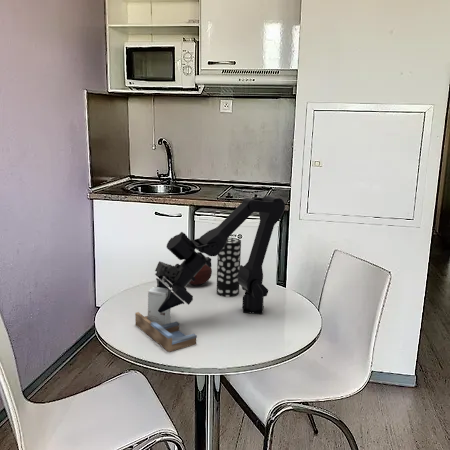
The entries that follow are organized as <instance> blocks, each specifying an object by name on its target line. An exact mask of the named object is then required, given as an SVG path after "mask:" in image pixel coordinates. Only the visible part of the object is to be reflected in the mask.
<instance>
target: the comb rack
mask: <svg viewBox="0 0 450 450" xmlns="http://www.w3.org/2000/svg"><path fill="white" fill-rule="evenodd" d="M135 326H136V327H138V328H139V329H140V330H141V331H142V332H144V333H145V334H147V336H149V337H150V338H151V339H152V340H154V341H155V342H156V343H157V344H158V345H160V346H161V347H162V348H164V350H166V351H167V352H168V353H170V352H175V351H176V350H181V349H183V348H187V347H190V346H194V345H197V338H198V335H197V334H195V333H192V334H187V335H186V334H185V333H183V332H182V331H180V322H178V321H174V322H170V323H169V324H165V325H161V326H160V325H159V324H158V323H156V322H151V321H149V320H148V315H146V316H144V315H143V314H141V313H140V312H139V311H137V312H135Z"/></svg>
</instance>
